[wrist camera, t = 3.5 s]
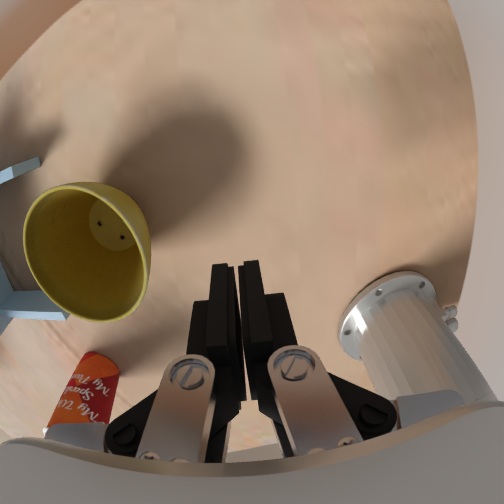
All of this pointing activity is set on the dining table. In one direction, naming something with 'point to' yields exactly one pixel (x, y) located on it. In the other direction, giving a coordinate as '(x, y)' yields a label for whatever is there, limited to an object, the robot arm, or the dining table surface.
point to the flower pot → (89, 250)
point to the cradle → (24, 302)
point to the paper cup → (88, 392)
